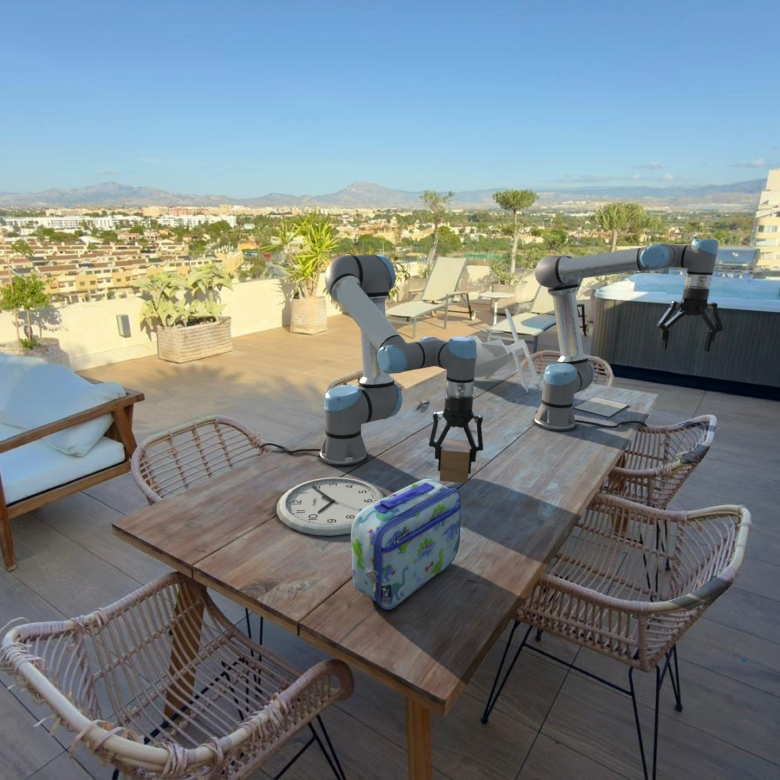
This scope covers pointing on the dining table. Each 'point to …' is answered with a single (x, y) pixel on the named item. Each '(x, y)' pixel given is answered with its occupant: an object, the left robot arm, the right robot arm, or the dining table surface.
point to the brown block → (454, 461)
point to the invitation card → (601, 406)
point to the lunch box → (405, 541)
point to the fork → (423, 402)
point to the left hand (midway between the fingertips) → (454, 470)
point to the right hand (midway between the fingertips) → (685, 349)
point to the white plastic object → (502, 356)
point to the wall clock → (326, 505)
